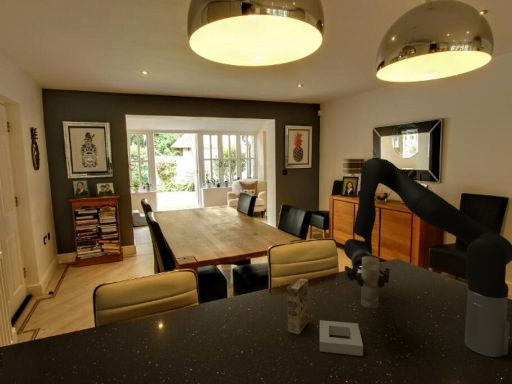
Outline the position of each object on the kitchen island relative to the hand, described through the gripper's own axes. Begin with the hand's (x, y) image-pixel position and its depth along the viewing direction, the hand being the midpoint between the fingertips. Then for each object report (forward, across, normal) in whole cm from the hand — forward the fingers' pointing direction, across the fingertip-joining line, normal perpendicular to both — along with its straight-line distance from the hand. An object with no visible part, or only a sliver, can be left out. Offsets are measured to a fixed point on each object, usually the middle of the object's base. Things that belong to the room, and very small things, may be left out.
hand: (371, 283), depth 87 cm
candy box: (-8, -22, +20) cm, 31 cm away
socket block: (-2, -8, +20) cm, 22 cm away
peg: (-3, 0, +8) cm, 8 cm away
